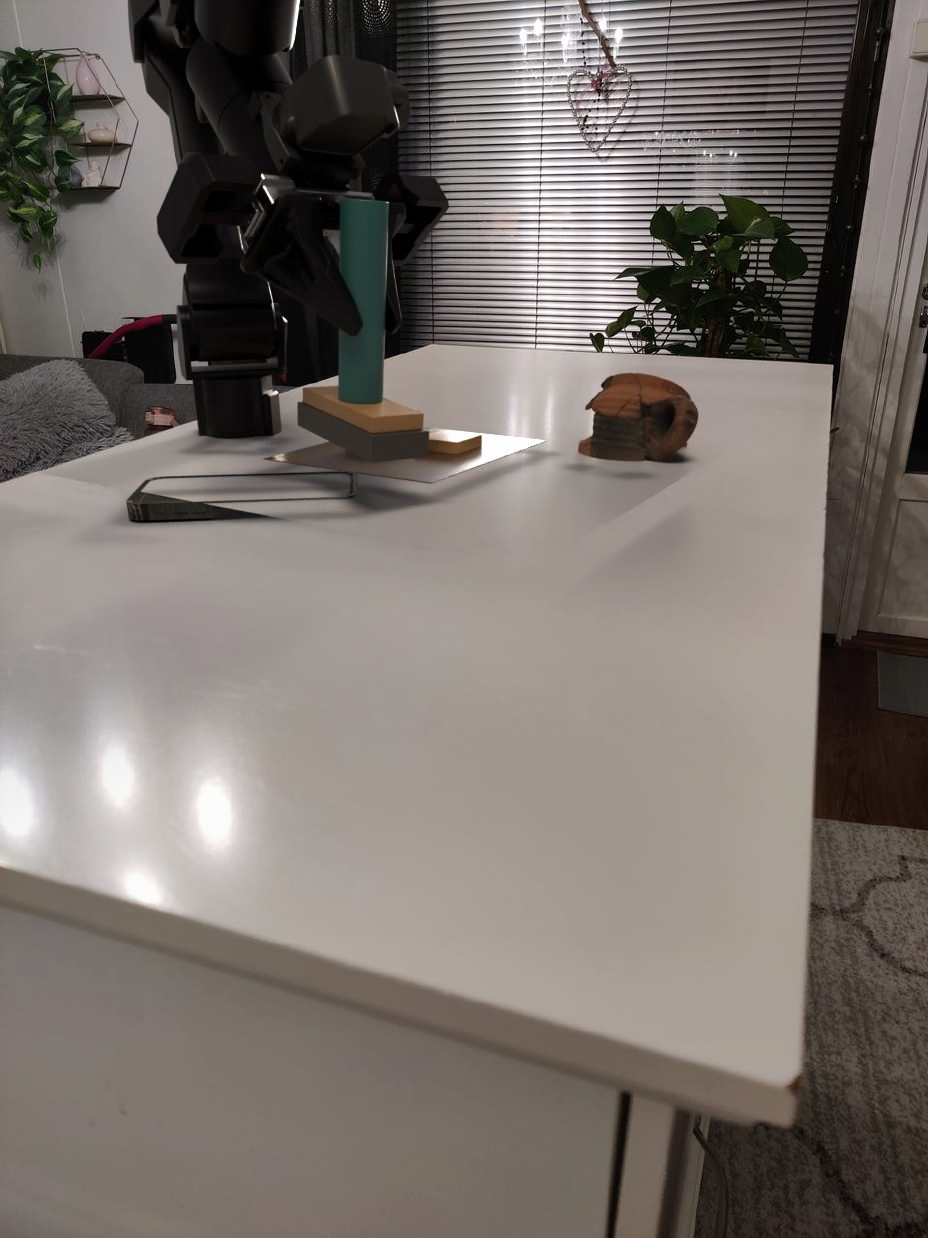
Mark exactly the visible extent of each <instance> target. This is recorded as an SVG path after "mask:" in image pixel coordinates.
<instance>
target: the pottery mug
mask: <svg viewBox="0 0 928 1238" xmlns="http://www.w3.org/2000/svg"><path fill="white" fill-rule="evenodd" d="M600 387H601V389H602V390H601V391H599V392H597V393H596V394H595V396H593V397H592V398H591V399H590V400H589V402H588V403H586V405H585V407H584V410H585V411H589V410H592V411H593V418H592V434H591V435H589V437H587V438H585V439H582V440H580V441H579V442H578V447H577V448H578V449H577V453H579V454H580V455H582V456H586V457H588V458H593V459H597V460H605V461H614V462H615V461H616V462H617V461H618V462H643V461H644V459H645V455H646V453H648V455H649V457H650V458H651V460H652V461H653V462H667V461H672V460H674V459H675V457H676V455H677V453H678V451H679V450H681V449H682V448H686V447H687V446H688V442H689V440H690V438H691V437H692V435H693V434H694V432H695V430H696V428H697V425H698V421H699V409H698V408H697V405H696V404H695V402H694V401H693V400H692V398H691V395H690V393H689V392H688V391H687V390H686V389H685V388H684V387H682V386H681V385H680V384H678V383H676V382H674V381H672V380H670V379H666V378H664V377H660V376H658V375H654V374H647V373H640V372H635V373H634V372H621V373H616V374H614V375H610V376H608V377H606V378H605V379H604V380H603V381H602V382H601V384H600Z"/></svg>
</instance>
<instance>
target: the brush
mask: <svg viewBox="0 0 928 1238" xmlns="http://www.w3.org/2000/svg"><path fill="white" fill-rule="evenodd" d="M388 210H389V202H385V201H373V200H360V199H346V198H340V247H339V255H338V256H339V271H340V273H341V275H342V277H343V279H344V281H345V283H346V285H347V287H348V289H349V291H350V293H351V295H352V297H353V299H354V301H355V304H356V306H357V309H358V311H359V314H360V316H361V319H362V322H363V328H362V329H361V330H360V332H359V333H358V334H357V335H356V336H349V335H348V334H346V333H345V332H343V331H342V330H341V329H339V328H338V376H337V377H338V378H337V379H338V380H337V381H338V382H337V383H338V385H323V386H308V387H302V401H297V406H296V407H297V408H296V409H297V426H298V427H300V428H302V429H304V430H306V431H307V432H309V433H312V434H314V435H316V436H318V437H319V438H322V439H324V440H326V441H327V442H329V441H330V442H332V443H334V444H336V445H338V446H340V447H342V448H344V449H346V450H348V451H350V452H352V453H354V454H356V455H358V456H360V457H362V458H364V459H366V460H368V461H370V462H372V463H373V462H382V461H391V460H400V459H409V458H418V457H427V456H428V448H429V431H428V430H425V429H423V427H424V417H425V415H424V412H421V411H419V410H417V409H414V408H411V407H408V406H406V405H403V404H401V403H398V402H395V401H392V400H391V399H387V398H385V397H384V382H385V381H384V378H385V377H384V376H385V349H386V348H385V342H386V331H385V314H386V279H387V245H388Z"/></svg>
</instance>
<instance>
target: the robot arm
mask: <svg viewBox="0 0 928 1238" xmlns="http://www.w3.org/2000/svg"><path fill="white" fill-rule="evenodd" d="M304 8H305V0H127V18H128V19H127V21H128V32H129V33H128V34H129V42H130V50H131V55H132V61H133V64H140V66H141V71H142V76H143V81H144V87H145V91H146V93H147V95H148V96H149V97H150V99H152V100H153V102H155V104H156V105H157V106H158V107H159V108H160V109H161V110H162V111H163V112H164V113H165V114H166V116H167V117H168V118H169V119H168V120H169V125H170V131H171V137H172V143H173V150H174V155H175V161H176V167H177V169H176V171H175V173H174V175H173V178H172V181H171V182H170V185H169V187H168V189H167V191H166V194H165V196H164V199H163V201H162V204H161V206H160V207H159V210H158V213H157V215H156V229H157V230H156V232H157V235H158V237H159V240H160V241H161V243H162V244H163V246H164V248H165V251H166V252H167V254H168V256H169V258H170V259H171V260H172V261H173V263H174V264H176V265H185V271H184V273H183V276H182V291H181V292H182V296H181V304H177V305H176V331H177V332H176V334H177V355H178V361H179V362H178V363H179V368H180V373H181V376H182V378H183V379H184V380H185V382H186V381H187V382H189V381H192V388H193V398H194V406H195V415H196V423H197V429H198V430H197V432H198V436H199V437H200V436H201V437H208V438H212V439H220V440H221V439H223V440H238V439H239V440H240V439H251V438H265V437H274V436H277V435H278V434H279V433H281V432H283V431H282V430H283V429H282V417H281V416H282V415H281V406H280V395H279V393H280V392H278V391H277V390H274V389H273V378H272V377H273V376H276V377H284V374H286V375H287V374H288V368H287V341H288V326H289V325H288V320H287V318H285V317H284V316H283V314H282V311H281V307H280V305H279V302H274V301H273V296H272V292H271V288H270V285H272V286H274V287H275V288H277V289H278V290H280V291H282V292H284V293H285V294H287V295H288V296H290V297H291V298H293V299H295V300H297V302H300V304H302V305H304V306H306V307H307V308H309V309H310V310H312V311H313V312H314V313H316V314H317V315H319V316H320V317H321V318H323V319H324V320H326V321H327V322H329V323H330V324H332V325H333V326H335V328H338V330H339V329H341V330H342V331H343V332H345V333H346V334H348V335H349V336H356V335H357V334H358V333H359V332H360V330H361V329H362V328H363V322H362V319H361V316H360V314H359V311H358V309H357V306H356V304H355V301H354V299H353V297H352V295H351V293H350V291H349V289H348V287H347V285H346V283H345V281H344V279H343V277H342V275H341V273H340V271H339V247H340V198H346V199H360V200H373V201H385V202H389V210H388V245H387V279H386V314H385V332H386V333H387V334H389V335H391V334H395V333H396V332H397V331H398V330H399V328H400V327H401V326H402V323H403V320H402V312H401V307H400V301H399V295H398V288H397V283H396V277H395V268H394V267H402V265H405V264H407V263H408V262H410V261H411V260H412V258H413V257H414V255H415V254H416V253H417V251H418V250H419V249H420V247H421V246H422V245H423V244H424V242H425V241H426V239H427V238H428V237H429V235H430V234H431V233H432V232H433V230H434V229H435V228H436V226H437V225H438V223H439V222H440V221H441V219H442V218H443V217H444V216H445V214H446V213H447V212H448V210H449V209H450V203H449V202H450V201H449V199H448V198H447V196H446V194H445V193H444V191H443V189H442V187H441V185H440V184H439V182H438V181H437V179H436V177H428V176H419V175H411V174H410V175H409V174H402V173H401V174H400V173H384V174H383V175H382V177H381V179H380V180H379V181H378V183H377V184H376V186H375V187H374V189H373V191H371V192H364V191H363V192H362V191H351V189H350V187H349V186H348V185H349V184H350V182H351V181H357V180H358V179H359V177H360V176H361V175H362V173H363V171H364V169H365V168H366V167H367V166H366V163H365V160H364V159H363V158H362V156H361V153H363V152H364V151H366V150H368V149H369V148H370V147H371V146H373V145H374V144H375V143H376V142H378V141H380V139H383V138H385V139H388V138H390V137H391V136H392V135H394V134H395V133H396V132H399V130H401V128H403V127H404V126H406V125H407V124H408V123H409V122H410V118H411V115H412V108H411V103H410V100H409V99H410V93H409V89H408V88H407V87H406V86H404V84H403V83H402V82H401V81H400V79H399V78H398V74H397V72H396V71H393V70H391V69H387V68H386V67H385V66H384V65H383V64H380V63H376V62H372V61H368V60H364V59H363V60H362V59H358V58H354V57H348V56H344V55H340V54H331V55H326V56H324V57H321V58H319V59H318V60H316V61H315V62H314V63H313V64H312V65H310V66H309V68H307V69H306V70H305V72H303V73H302V74H301V75H300V76H299V77H298V78H297V79H296V80H295V81H294V82H293V80H292V78H291V77H290V75H289V73H288V71H287V70H286V68H285V66H284V64H283V63H282V61H281V59H280V57H279V56H278V53H280V52H283V53H289V52H290V51H291V49H292V48H293V45H294V43H295V39H296V32H297V30H296V29H297V24H298V16H299V11H300V10H302V9H304ZM241 234H242V235H241ZM242 236H243V237H244V238H243V239H244V240H242ZM325 237H326V238H327V240H328V242H329V243H330V244H331V245H332V246H333V248H334V250H335V251H336V253H337V257H336V259H334V257H333V255H332V253H331V251H330V249H329V247H328V244H327V243H326V241H325ZM242 241H243V242H244V243H245V245H246V247H247V249H246V251H245V249H244V245H243V242H242ZM253 360H254V361H256V360H266V362H261V363H260V362H259V363H238V364H218V365H217V364H216V365H197V366H196V365H194V366H192V362H193V363H194V362H198V363H208V362H209V363H210V362H231V361H232V362H233V361H234V362H235V361H253Z"/></svg>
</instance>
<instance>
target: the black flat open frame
mask: <svg viewBox="0 0 928 1238" xmlns="http://www.w3.org/2000/svg"><path fill="white" fill-rule="evenodd" d="M320 474H321V475H322V474H323V475H324V474H346V475H351V476H352V492H351V493H350V494H347V495H342V496H341V495H340V496H320V497H319V496H318V497H292V498H291V497H290V498H260V499H230V500H229V499H228V500H197V501H192V500H188V499H181V498H176V497H170V496H165V495H161V494H160V495H159V494H155V493H150V492H145V491H143V490H144V488H145V487H147V485H148V484H149V483H151V482H152V481H153V482H154V481H157V480H163V479H164V480H165V479H191V478H194V479H195V478H222V477H223V478H226V477H228V478H229V477H256V476H259V477H260V476H261V477H262V476H287V475H288V476H289V475H290V476H291V475H294V476H295V475H320ZM357 496H358V473H355V472H351V471H340V470H332V471H331V470H329V471H297V472H265V473H261V472H260V473H235V474H233V473H231V474H230V473H229V474H228V473H227V474H200V475H197V474H196V475H166V476H164V475H163V476H155V477H149V478H147V479H145V480H144V481H143V482H142V483H141V484H140V485H139V486H138V487H137V488H136V489H135V490H134V491H133V492H132V493H131V494H130V496H129V497H128V498H127V499H126V501H125V502H126V510H127V516H128V518H129V519H130V520H132V521H163V520H164V521H165V520H166V521H167V520H170V521H171V520H196V519H197V520H198V519H220V518H221V519H222V518H223V519H225V518H227V519H228V518H251V517H254V518H255V517H256V518H257V517H269V515H267V514H261V513H257V512H252V511H251V512H250V511H246V510H240V509H234V508H229V507H224V506H220V505H219V506H218V505H215V504H228V503H229V504H230V503H261V502H262V503H264V502H285V501H286V502H287V501H288V502H290V501H293V502H294V501H320V500H324V501H325V500H344V499H351V498H354V497H357ZM213 504H214V505H213Z"/></svg>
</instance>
